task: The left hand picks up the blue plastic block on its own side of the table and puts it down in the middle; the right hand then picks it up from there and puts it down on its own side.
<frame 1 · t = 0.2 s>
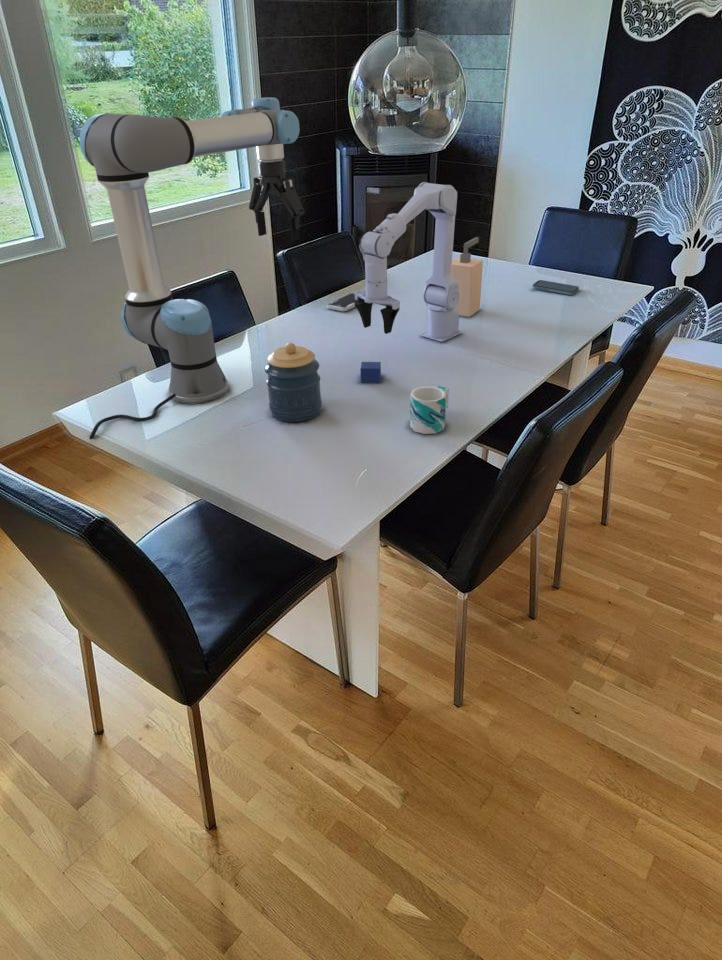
left hand: (278, 237, 202), 28 cm above the table, tool pointing down, fingers open, 13 cm apart
right hand: (377, 329, 184), 10 cm above the table, tool pointing down, fingers open, 7 cm apart
block: (371, 379, 181), on the table
canister: (296, 411, 166), on the table
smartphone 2: (555, 290, 239), on the table
mug: (431, 422, 159), on the table
smartphone: (348, 304, 234), on the table
soap dispenser: (465, 309, 225), on the table
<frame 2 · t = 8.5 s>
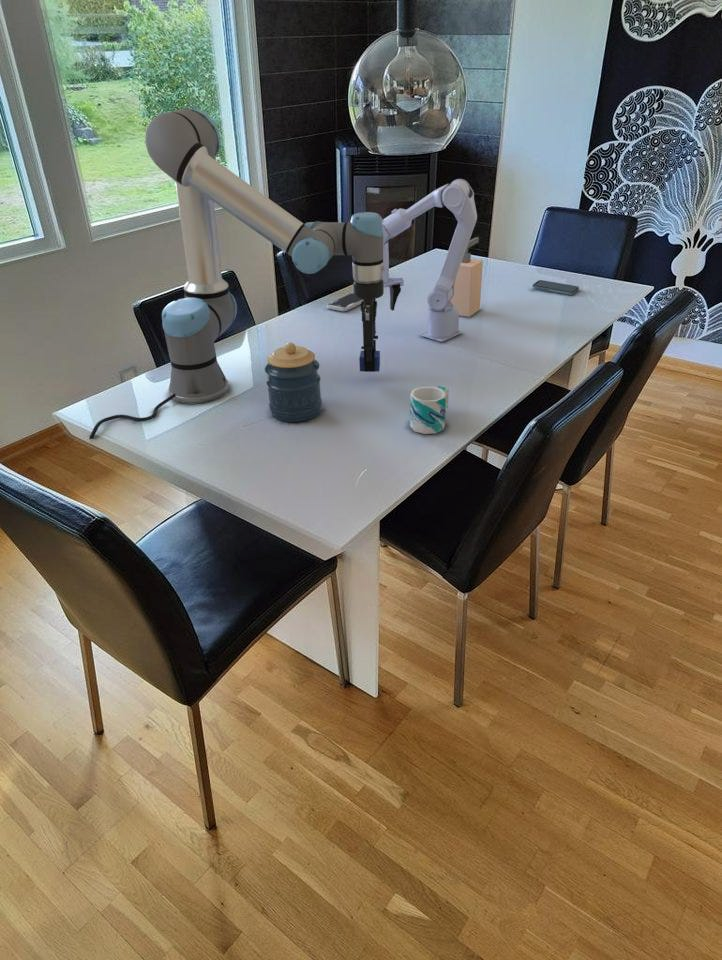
left hand: (370, 367, 179), 4 cm above the table, tool pointing down, fingers closed on block, 4 cm apart
right hand: (380, 310, 207), 7 cm above the table, tool pointing down, fingers open, 7 cm apart
block: (370, 368, 179), point 3 cm above the table, touching left hand
everything else where it was.
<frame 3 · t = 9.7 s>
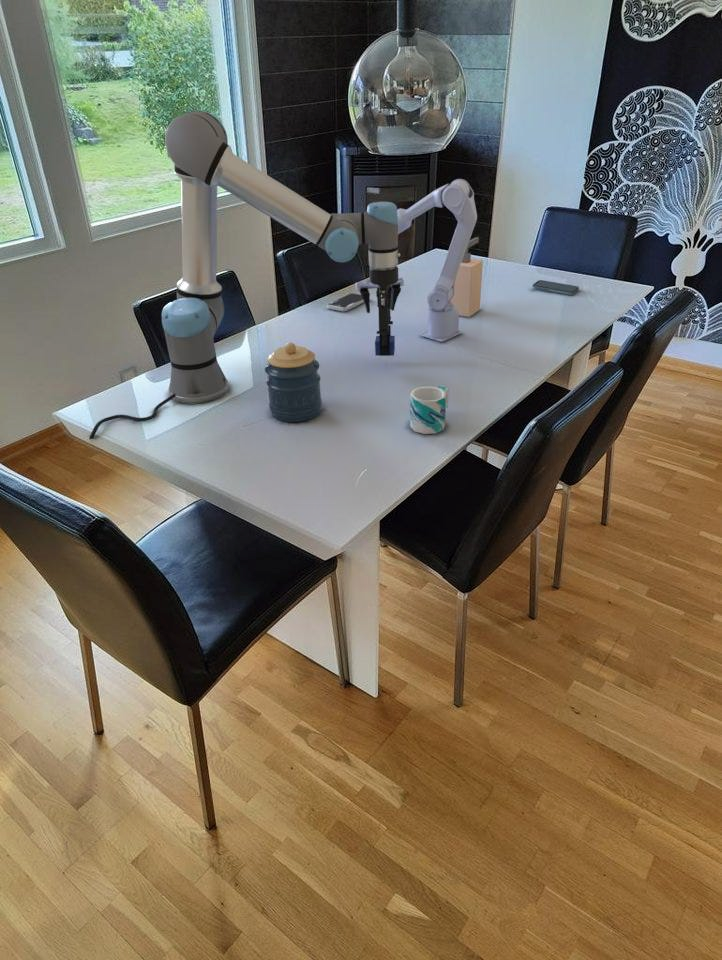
left hand: (385, 351, 186), 4 cm above the table, tool pointing down, fingers closed on block, 4 cm apart
right hand: (380, 310, 207), 7 cm above the table, tool pointing down, fingers open, 7 cm apart
block: (385, 352, 186), point 4 cm above the table, touching left hand
everything else where it was.
when the left hand's fingers open (0 cm above the table, at t = 11.3 s): block stays where it is, on the table.
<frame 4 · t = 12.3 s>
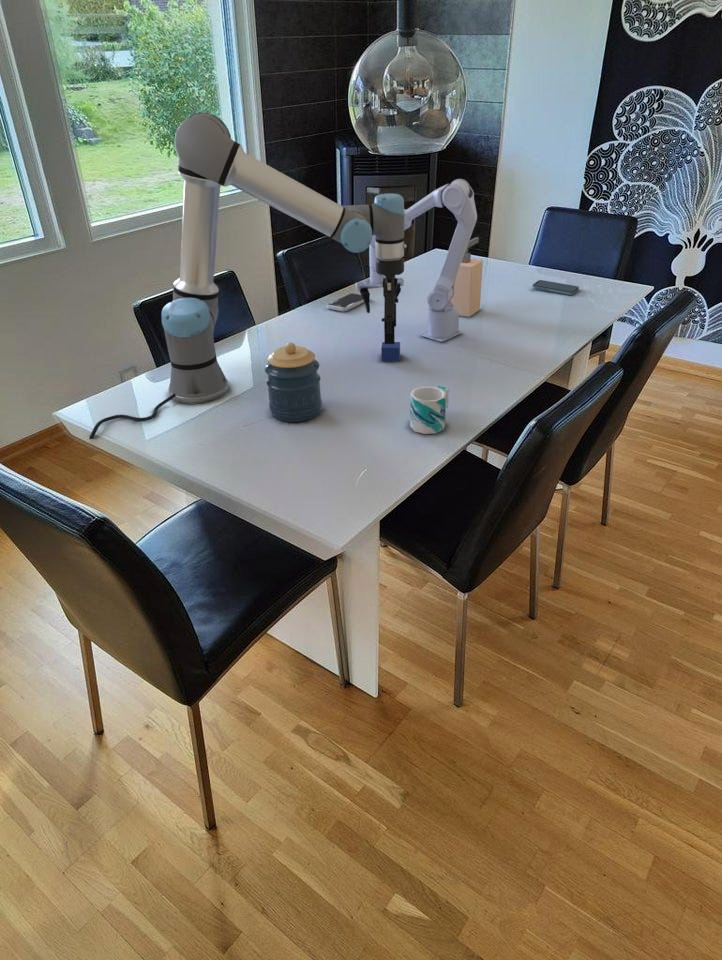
left hand: (390, 334, 189), 7 cm above the table, tool pointing down, fingers open, 13 cm apart
right hand: (380, 310, 207), 7 cm above the table, tool pointing down, fingers open, 7 cm apart
block: (390, 358, 192), on the table
everything else where it was.
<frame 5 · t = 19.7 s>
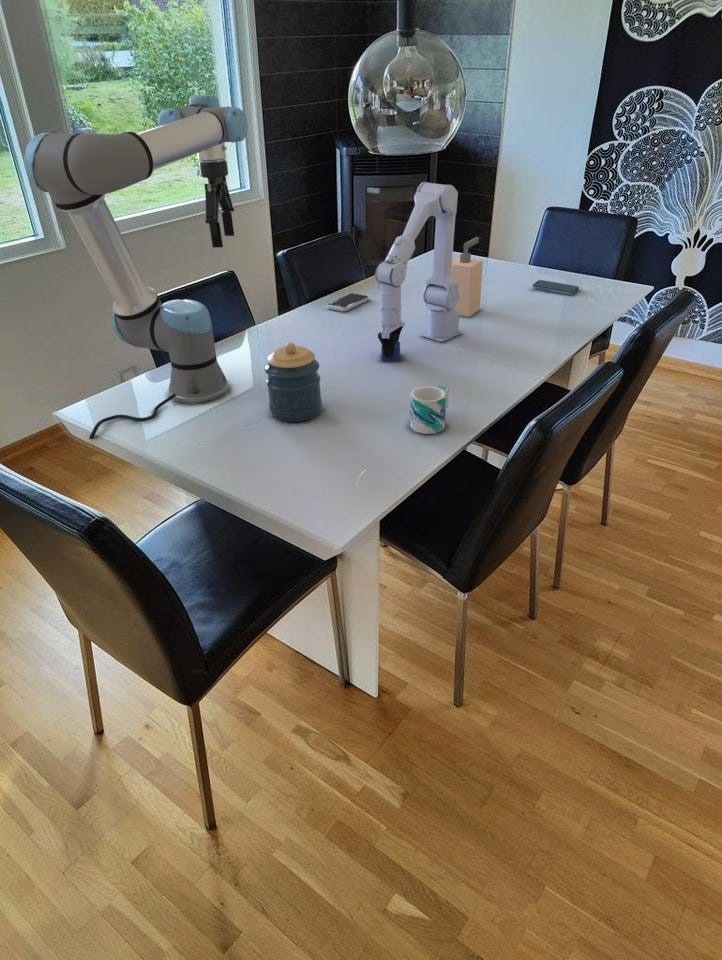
left hand: (223, 241, 193), 30 cm above the table, tool pointing down, fingers open, 13 cm apart
right hand: (391, 353, 192), 1 cm above the table, tool pointing down, fingers closed on block, 5 cm apart
block: (390, 358, 192), on the table, touching right hand
everything else where it was.
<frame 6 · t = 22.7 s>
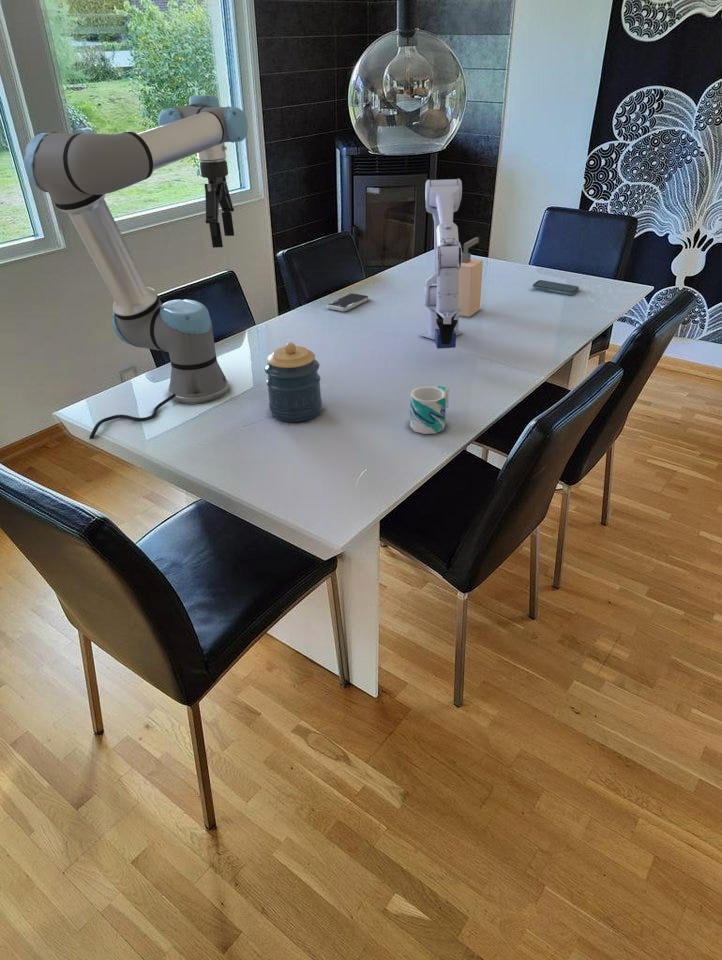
left hand: (223, 241, 193), 30 cm above the table, tool pointing down, fingers open, 13 cm apart
right hand: (445, 340, 187), 6 cm above the table, tool pointing down, fingers closed on block, 5 cm apart
block: (445, 345, 187), point 4 cm above the table, touching right hand
everything else where it was.
when the right hand's fingers open (2 cm above the table, at t = 25.8 s): block stays where it is, on the table.
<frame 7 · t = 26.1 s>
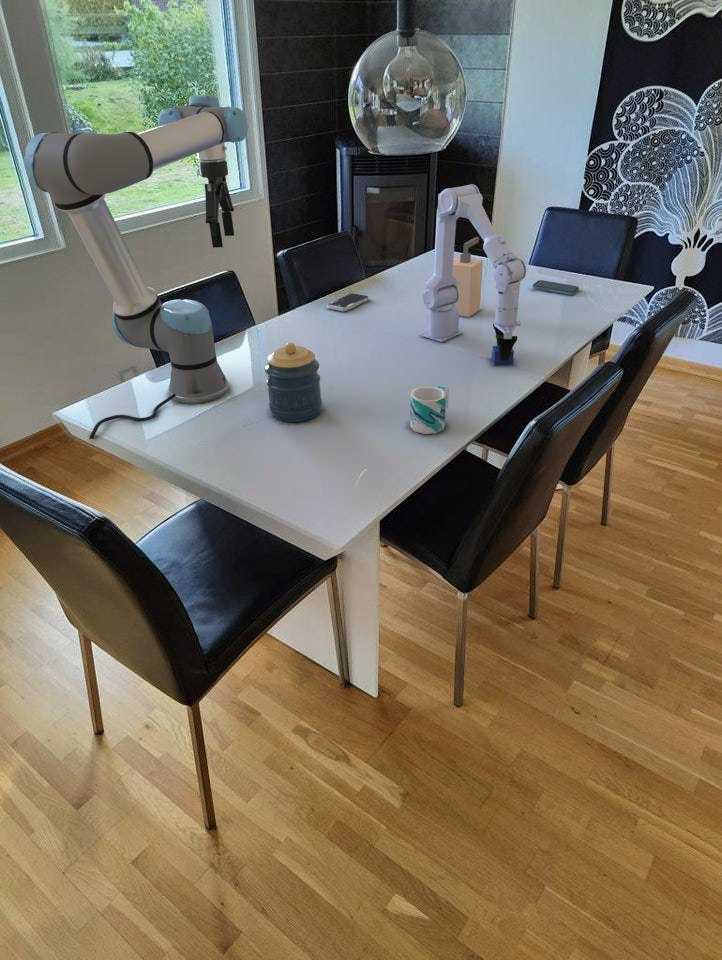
left hand: (223, 241, 193), 30 cm above the table, tool pointing down, fingers open, 13 cm apart
right hand: (502, 354, 186), 2 cm above the table, tool pointing down, fingers open, 7 cm apart
block: (502, 362, 187), on the table
everything else where it was.
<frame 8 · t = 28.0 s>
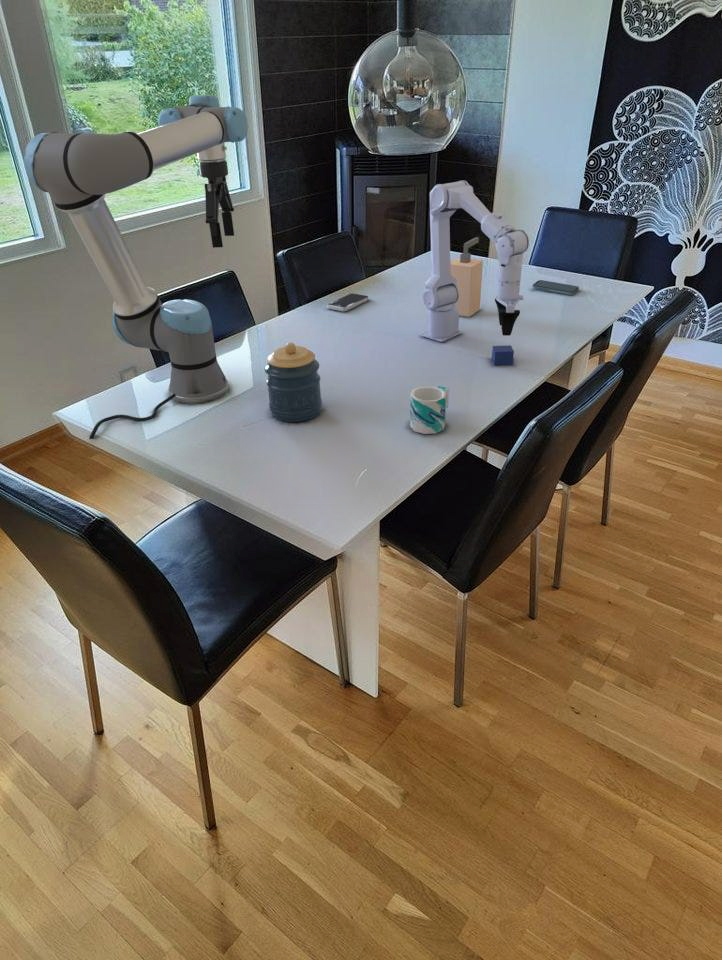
left hand: (223, 241, 193), 30 cm above the table, tool pointing down, fingers open, 13 cm apart
right hand: (505, 330, 182), 9 cm above the table, tool pointing down, fingers open, 7 cm apart
nothing on the table moved.
at the end: block inside the target area (0.0 cm from its centre), on the table; block tilted 0°; the two hands never held the block at the same time; the left hand is holding nothing; the right hand is holding nothing; block at rest at the end (0.0 cm/s) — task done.
